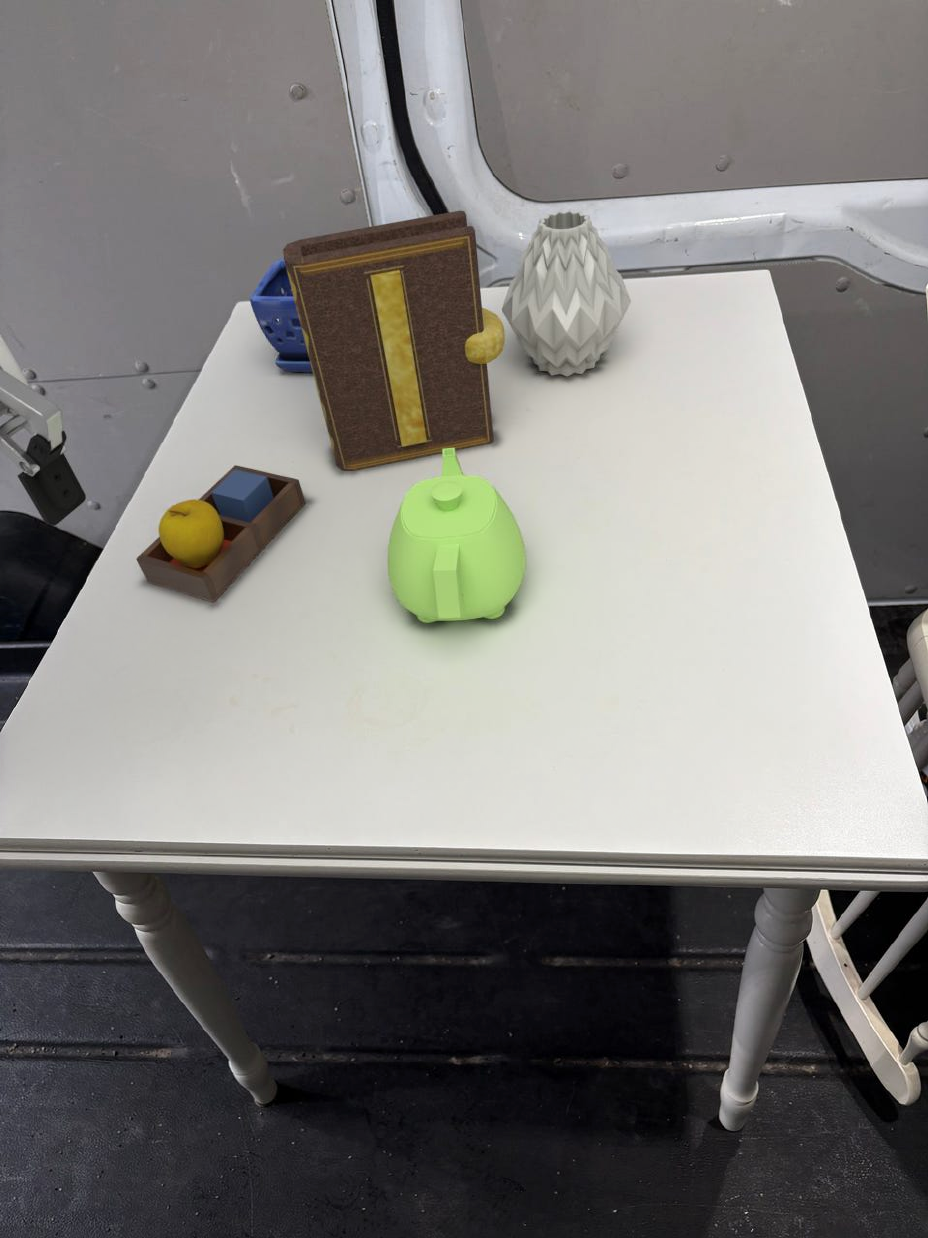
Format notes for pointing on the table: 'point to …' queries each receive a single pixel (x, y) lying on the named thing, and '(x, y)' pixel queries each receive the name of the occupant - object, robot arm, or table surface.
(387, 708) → the table surface
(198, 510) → the apple
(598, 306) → the vase
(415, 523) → the teapot
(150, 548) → the tray
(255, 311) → the flower pot
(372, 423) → the book
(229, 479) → the blue block
